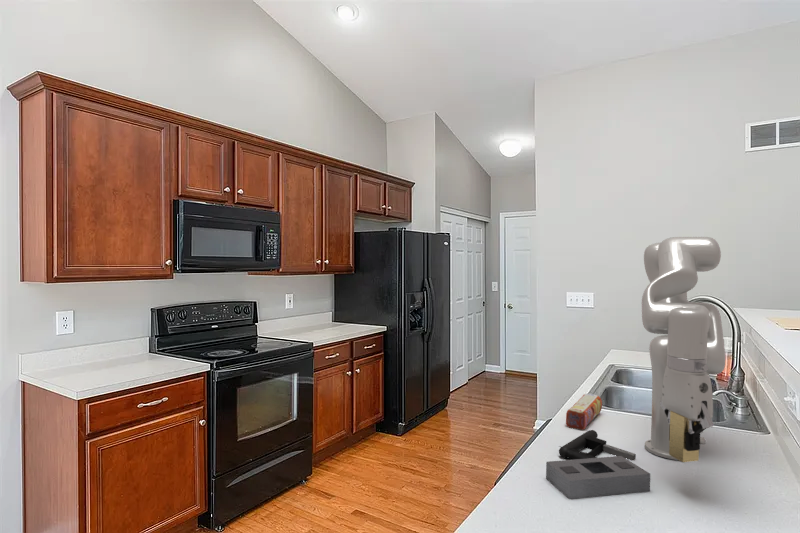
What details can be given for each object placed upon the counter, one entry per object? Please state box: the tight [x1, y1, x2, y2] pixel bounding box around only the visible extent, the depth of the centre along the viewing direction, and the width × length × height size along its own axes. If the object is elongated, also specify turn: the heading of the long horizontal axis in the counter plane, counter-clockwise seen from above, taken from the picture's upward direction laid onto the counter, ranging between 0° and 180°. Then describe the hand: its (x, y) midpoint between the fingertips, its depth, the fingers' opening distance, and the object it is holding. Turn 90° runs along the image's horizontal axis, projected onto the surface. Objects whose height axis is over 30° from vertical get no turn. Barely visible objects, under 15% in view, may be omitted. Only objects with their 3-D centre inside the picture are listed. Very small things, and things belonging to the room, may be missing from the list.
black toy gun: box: [558, 429, 637, 461], centre depth 129 cm, size 3×20×16 cm
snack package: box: [565, 393, 603, 431], centre depth 157 cm, size 21×7×7 cm, turn 145°
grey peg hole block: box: [545, 455, 651, 500], centre depth 111 cm, size 20×10×4 cm, turn 102°
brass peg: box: [669, 411, 700, 463], centre depth 108 cm, size 4×4×10 cm
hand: (684, 444), depth 108 cm, fingers closed on brass peg, 4 cm apart
